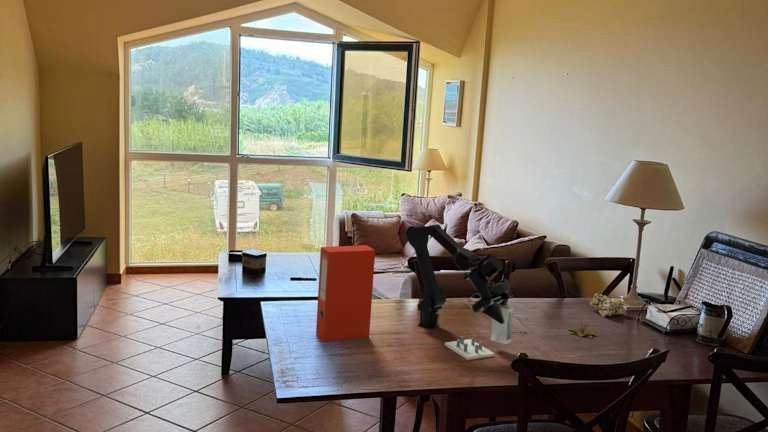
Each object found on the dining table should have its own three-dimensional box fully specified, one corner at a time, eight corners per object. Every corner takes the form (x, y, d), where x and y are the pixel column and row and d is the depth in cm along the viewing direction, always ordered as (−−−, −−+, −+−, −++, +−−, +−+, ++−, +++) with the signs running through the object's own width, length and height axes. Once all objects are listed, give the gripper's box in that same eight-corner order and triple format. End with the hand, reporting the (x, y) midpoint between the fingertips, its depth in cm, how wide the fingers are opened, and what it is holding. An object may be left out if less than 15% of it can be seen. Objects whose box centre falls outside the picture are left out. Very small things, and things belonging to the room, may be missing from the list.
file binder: (369, 337, 237) (375, 250, 232) (324, 342, 229) (329, 252, 224) (360, 330, 244) (365, 244, 239) (315, 334, 236) (320, 246, 231)
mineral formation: (605, 319, 277) (580, 306, 290) (627, 321, 284) (601, 308, 297) (611, 301, 276) (585, 288, 289) (633, 303, 283) (606, 291, 295)
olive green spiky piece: (563, 335, 255) (564, 323, 254) (570, 326, 266) (571, 315, 265) (595, 342, 250) (597, 330, 249) (601, 333, 261) (602, 322, 260)
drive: (490, 340, 234) (493, 305, 232) (496, 337, 237) (498, 303, 235) (505, 344, 230) (508, 309, 228) (510, 342, 233) (513, 307, 231)
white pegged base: (444, 345, 235) (445, 335, 234) (470, 341, 240) (471, 332, 239) (467, 359, 223) (468, 349, 222) (493, 356, 228) (494, 346, 227)
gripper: (482, 276, 225) (507, 316, 220) (511, 268, 239) (535, 305, 234) (461, 293, 231) (485, 332, 226) (490, 284, 245) (513, 321, 240)
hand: (505, 322), depth 231 cm, fingers closed on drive, 3 cm apart
